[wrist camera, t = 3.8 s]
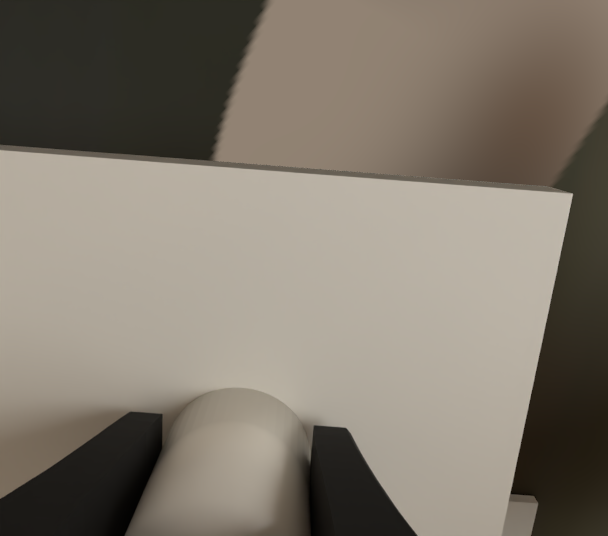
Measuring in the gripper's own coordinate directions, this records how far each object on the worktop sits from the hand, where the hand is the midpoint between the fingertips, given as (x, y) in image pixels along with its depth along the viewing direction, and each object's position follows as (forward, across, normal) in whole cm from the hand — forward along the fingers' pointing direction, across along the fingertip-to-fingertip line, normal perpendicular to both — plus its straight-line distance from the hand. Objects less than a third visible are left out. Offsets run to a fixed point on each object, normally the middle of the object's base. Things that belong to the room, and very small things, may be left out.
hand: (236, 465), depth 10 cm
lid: (+1, 0, 0) cm, 1 cm away
